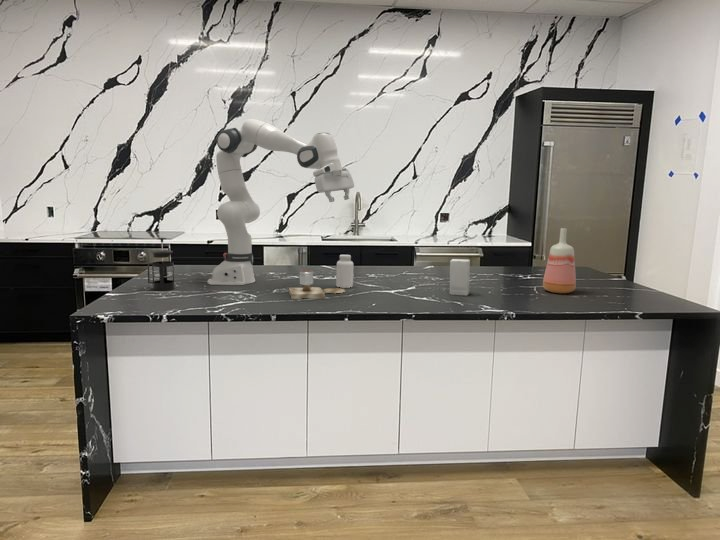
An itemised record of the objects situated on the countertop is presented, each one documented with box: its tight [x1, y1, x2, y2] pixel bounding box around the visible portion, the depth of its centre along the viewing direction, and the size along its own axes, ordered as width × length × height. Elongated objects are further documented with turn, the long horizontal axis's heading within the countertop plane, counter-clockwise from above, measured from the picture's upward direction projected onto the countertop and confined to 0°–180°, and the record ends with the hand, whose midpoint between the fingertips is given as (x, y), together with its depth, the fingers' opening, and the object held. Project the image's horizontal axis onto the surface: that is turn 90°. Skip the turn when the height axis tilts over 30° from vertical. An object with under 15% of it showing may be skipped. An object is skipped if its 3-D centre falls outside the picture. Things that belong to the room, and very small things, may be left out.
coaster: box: [322, 287, 346, 295], centre depth 247 cm, size 10×10×1 cm
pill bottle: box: [335, 254, 354, 289], centre depth 258 cm, size 8×8×15 cm
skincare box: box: [449, 258, 471, 296], centre depth 245 cm, size 8×7×16 cm
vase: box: [542, 227, 577, 294], centre depth 254 cm, size 14×14×30 cm
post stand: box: [288, 285, 326, 300], centre depth 238 cm, size 14×14×9 cm
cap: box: [299, 270, 314, 286], centre depth 237 cm, size 6×6×6 cm
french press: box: [147, 237, 176, 292], centre depth 244 cm, size 12×9×23 cm
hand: (339, 200), depth 237 cm, fingers open, 8 cm apart
